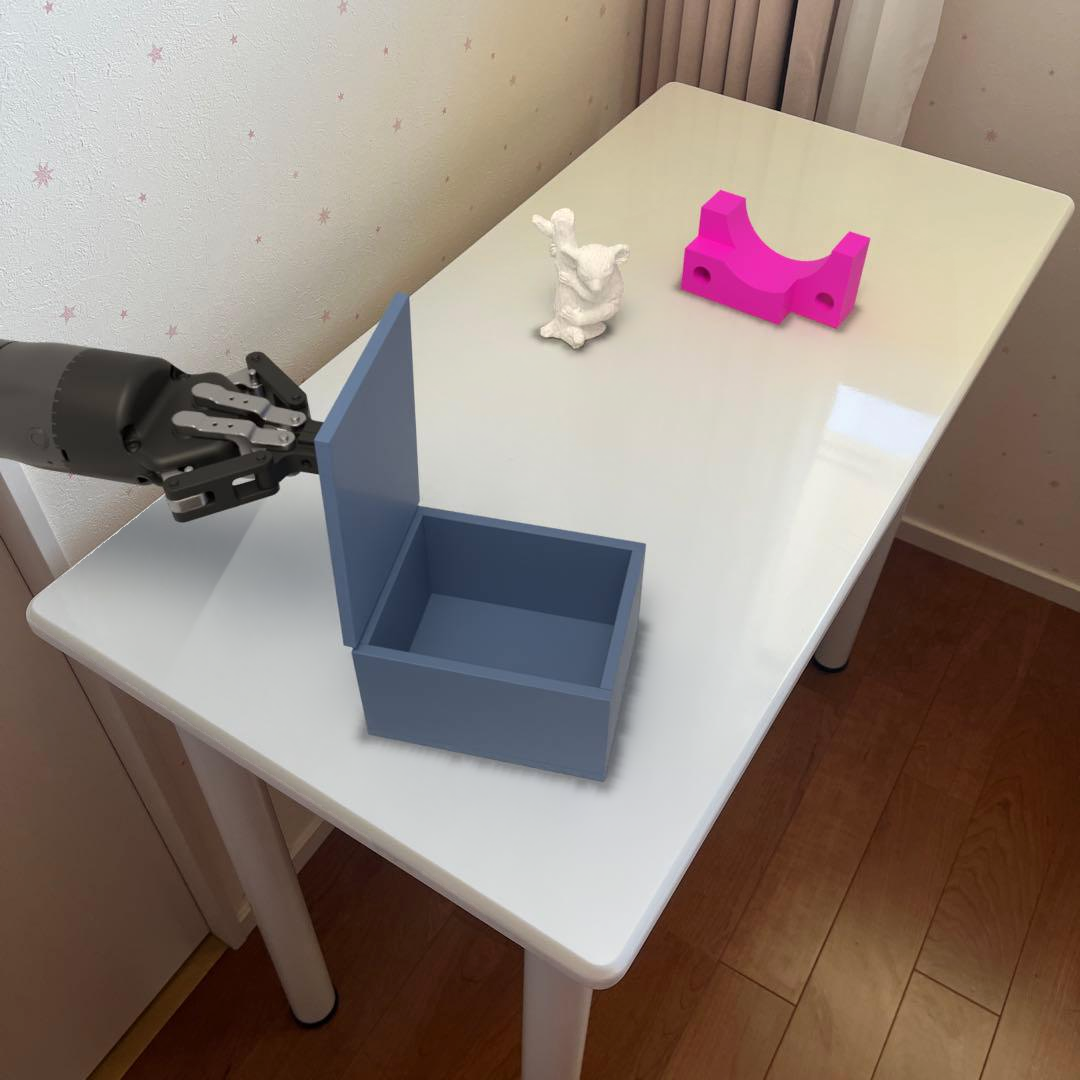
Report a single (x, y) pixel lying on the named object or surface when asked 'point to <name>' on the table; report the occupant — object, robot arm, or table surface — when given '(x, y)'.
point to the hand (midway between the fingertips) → (366, 455)
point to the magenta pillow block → (768, 269)
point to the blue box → (503, 641)
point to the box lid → (370, 468)
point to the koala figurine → (581, 281)
